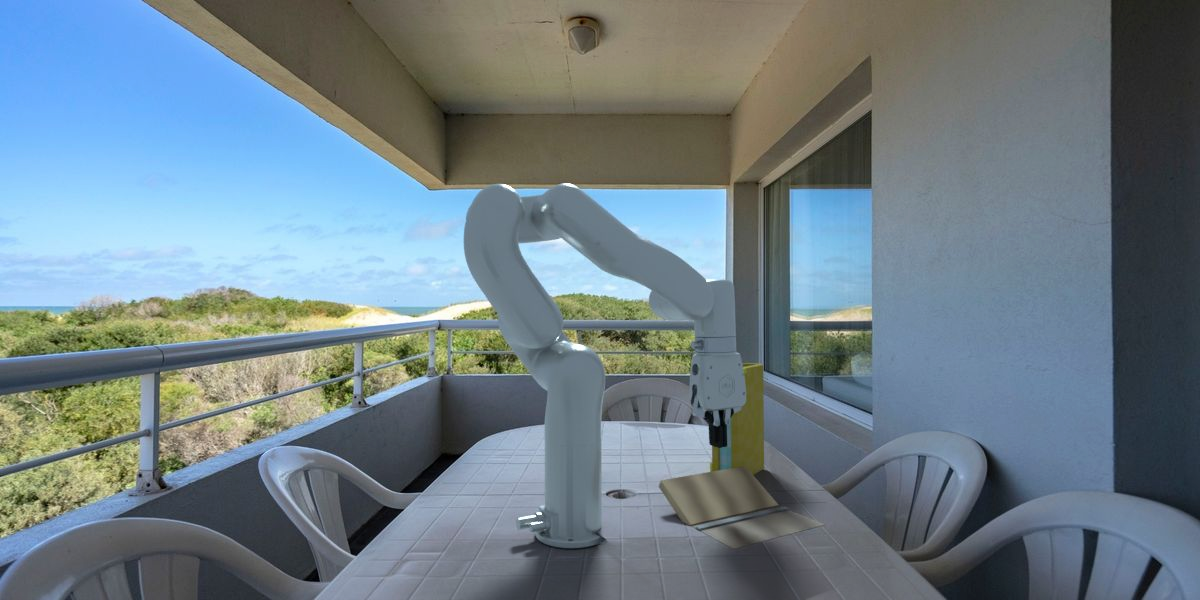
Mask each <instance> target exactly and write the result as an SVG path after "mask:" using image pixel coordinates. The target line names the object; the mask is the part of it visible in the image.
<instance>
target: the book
mask: <svg viewBox="0 0 1200 600" xmlns="http://www.w3.org/2000/svg"><path fill="white" fill-rule="evenodd" d="M742 364H743V370H744V377H745V387H746V403H745V404H744V405H743V406H741V410H740V411H738V412H736V413H733V415H732V417H731V418H730V423H729V424H728V425H727V447H722V448H718V447H715V446H711V462H709V463H710V464H709V466H710V467H709V468H710V469H709V472H712V471H718V470H724V469H730V468H736V467H741V466H746V468H747V469H748V470H749V471H750V472H751V473H752V474H753V476H755V475H756V474H758V473H759V472H761V471H762V470H764V471H765V436H764V435H765V432H764V431H765V429H764V428H765V425H764V423H765V420H764V418H765V417H764V416H765V415H764V414H765V413H764V410H765V409H764V364H763V363H755V362H754V363H753V362H750V363H749V362H746V363H745V362H742Z"/></svg>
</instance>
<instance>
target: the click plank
mask: <svg viewBox="0 0 1200 600" xmlns="http://www.w3.org/2000/svg"><path fill="white" fill-rule="evenodd" d="M658 488H659V489H660V491H661V492H662V494H663V496H664V497H665V498H666V500H667V501H668V503H669V505H670V506H671V507H672V509H673V510H674V512H675V513H676V515H677V517H678V518H679V519H680V521H681V522H682V523H685V524H686V525H688V526H689V527H691V526H696V525H700V524H705V523H709V522H713V521H718V520H722V519H727V518H731V517H735V516H740V515H744V514H749V513H753V512H757V511H762V510H766V509H771V508H775V507H779V503H778V502H777V501H776V500H775V499H774V497H773V496H771V494H770V493H769V492H768V491H767V490H766V488H765V487H764V486H763V485H762V484H761V482H760V481H759V480H758V479H757V478H756V477H755V475H753V474H752V473H751V472H750V471H749V470H748V469H747V468H746V466H741V467H736V468H730V469H724V470H718V471H712V472H710V471H708V472H700V473H696V474H691V475H685V476H678V477H673V478H672V477H671V478H667V479H661V480H660V482H659V484H658Z"/></svg>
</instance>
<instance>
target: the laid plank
mask: <svg viewBox="0 0 1200 600" xmlns="http://www.w3.org/2000/svg"><path fill="white" fill-rule="evenodd" d="M691 526H692V528H693V529H696V530H697V531H699V532H701V533H702V534H704V535H707V536H709V537H710V538H712V539H714V540H716V541H717V542H719V543H722V544H724V545H725V546H727V547H729V548H730V549H732V550H734V549H739V548H742V547H743V548H744V547H747V546H751V545H754V544H757V543H762V542H765V541H769V540H773V539H777V538H781V537H784V536H789V535H792V534H793V535H794V534H796V533H800V532H804V531H808V530H811V529H815V528H819V527H824V526H826V524H825V523H824V522H820V521H818V520H815V519H812V518H811V517H807V516H805V515H803V514H800V513H797V512H795V511H792V510H790V509H789V507H787V506H780V505H778V506H775V507H771V508H766V509H762V510H757V511H753V512H748V513H744V514H740V515H735V516H731V517H726V518H722V519H717V520H713V521H709V522H704V523H700V524H695V525H691Z"/></svg>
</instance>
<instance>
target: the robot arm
mask: <svg viewBox="0 0 1200 600" xmlns="http://www.w3.org/2000/svg"><path fill="white" fill-rule="evenodd" d="M463 228H464V229H463V251H464V252H463V253H464V257H465V262H466V265H467V268H468V270H469V271H470V275H471V276H472V278H473V279H474V281H475V283H476V285H477V286H478V288H479V289H480V290H481V292H482V293H483V295H484V296H485V298H486V299H487V300H488V302H489V304H490V305H491V306H492V308H493V310H494V311H495V312H496V314H497V315H498V316H497V324H498V329H499V331H500V334H501V336H502V337H503V339H504V340H505V342H506V343H507V345H508V346H509V348H510V349H511V350H512V351H513V353H514V354H515V356H516V357H517V359H519V361H520V362H521V363H522V365H523V366H524V367H525V369H526V371H528V373H529V374H530V375H531V377H532V379H534V381H535V382H536V383H537V384H538V386H540V387H541V388H542V389H544V391H547V394H546V396H547V397H546V405H545V413H544V414H545V415H544V504H543V505H539V506H538V511H536V512H534V513H533V514H532V515H524V516H518V517H516V519H515V526H516V528H517V530H525V529H529V531H530V533H535V534H534V535H535V537H536V539H537V540H538V541H539V542H541V543H543V544H545V545H547V546H550V547H553V548H561V549H583V548H588V547H593V546H596V545H599V544H601V543H603V542H605V541H607V539H606V538H605V537H604V536H602V534H599V533H598V531H599V530H600V529H601V528H602V525H603V524H602V519H603V518H602V511H603V509H602V506H603V505H602V503H603V502H602V501H603V500H602V495H603V494H602V493H603V492H602V489H603V488H602V487H603V486H602V484H603V482H602V480H603V479H602V465H603V464H602V458H603V457H602V417H603V415H602V414H603V403H604V398H605V397H604V395H605V388H606V370H605V367H604V363H603V362H602V359H601V357H600V356H599V355H598V354H597V352H595V350H593V349H592V348H590V347H588V346H586V345H584V344H581V343H575V342H572V341H571V340H570V339H569V337H568V336H567V335H566V334H565V332H564V330H563V329H564V316H563V313H562V311H561V309H560V308H559V306H558V304H557V303H556V302H555V300H554V299H553V298H552V296H551V295H550V294H549V293H548V292H547V290H546V289H545V287H544V286H543V285H542V283H541V282H540V281H539V279H538V278H537V276H536V275H535V273H534V272H533V271H532V269H531V268H530V266H529V264H528V263H527V261H526V260H525V258H524V256H523V255H522V252H521V249H520V244H529V243H530V244H531V243H532V244H533V243H539V242H540V243H541V242H548V241H555V240H559V239H562V240H563V241H564V242H566V243H567V244H568V245H569V246H571V247H572V248H573V249H574V250H576V251H577V252H578V253H580V254H581V255H582V256H584V258H586V259H587V260H588V261H590V262H591V263H592V264H594V265H595V266H596V267H597V268H598V269H600V270H601V271H603V272H604V273H608V274H610V275H611V276H614V277H618V278H621V279H625V280H629V281H632V282H635V283H637V284H639V285H641V286H643V287H645V288H647V289H649V290H651V291H650V293H649V295H648V305H649V308H650V310H651V311H652V312H653V314H654V315H655V316H657V317H658V318H660V319H662V320H667V321H689V322H690V321H693V327H694V328H693V329H694V331H693V332H694V341H691V343H690V348H691V349H692V350H694V354H692V357H691V364H690V370H689V403H690V405H691V407H692V410H691V414H692V416H693V417H698V418H702V419H703V420H704V421H705V424H707V425H708V440H709V442H708V443H709V446H711V447H712V446H715V447H718V448H722V447H727V425H728V424H729V423H730V418H731V417H732V415H733V413H736V412H738V411H740V410H741V406H743V405H744V404H745V403H746V387H745V377H744V370H743V364H742V363H743V362H742V361H743V360H742V356H741V353H739V352H737V337H736V336H737V332H736V331H737V329H736V328H737V327H736V301H735V300H736V298H735V297H736V296H735V293H736V292H735V285H734V284H733V282H732V281H731V280H728V279H721V278H720V279H719V278H718V279H717V278H716V279H706V278H705V277H704V276H703V275H702V274H701V273H699V272H698V271H697V270H696V269H695V268H694V267H692V266H691V264H689V263H688V262H686V261H685V260H684V259H683V258H681V257H679V255H677V254H675V253H674V252H672V251H669V249H667V248H665V247H662V246H660V245H659V244H656V243H655V242H654V241H651V240H649V239H647V238H645V237H644V236H642V235H639V234H637V233H635V232H634V231H632V230H631V229H629V227H628V226H626V225H625V224H624V223H622V222H621V221H620V220H619V219H617V217H616V216H614V215H613V214H611V213H610V212H609V211H608V210H606V209H605V208H604V207H603V206H602V205H601V204H600V203H598V202H597V201H596V200H595V199H593V198H592V197H591V196H590V195H589V194H588V193H586V192H585V191H584V190H583V189H581V188H579V187H578V186H576V185H574V184H572V183H559V184H555V185H554V186H552V187H550V188H549V189H547V190H546V191H545V192H543V194H536V195H530V196H527V195H526V196H520V194H519V193H518V191H516V190H515V189H514V188H512V186H510V185H507V184H504V183H492V184H490V185H487V186H485V187H484V188H482V189H481V190H480V191H479V192H478V193H477V194H476V195H475V197H474V199H473V200H472V202H471V203H470V205H469V207H468V208H467V211H466V215H465V224H464V227H463Z"/></svg>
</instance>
